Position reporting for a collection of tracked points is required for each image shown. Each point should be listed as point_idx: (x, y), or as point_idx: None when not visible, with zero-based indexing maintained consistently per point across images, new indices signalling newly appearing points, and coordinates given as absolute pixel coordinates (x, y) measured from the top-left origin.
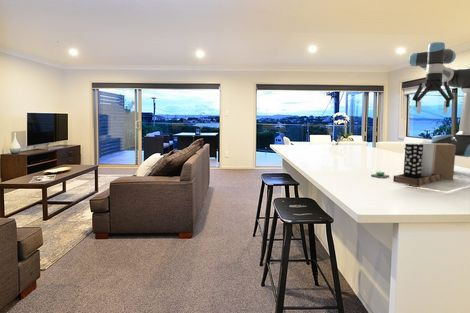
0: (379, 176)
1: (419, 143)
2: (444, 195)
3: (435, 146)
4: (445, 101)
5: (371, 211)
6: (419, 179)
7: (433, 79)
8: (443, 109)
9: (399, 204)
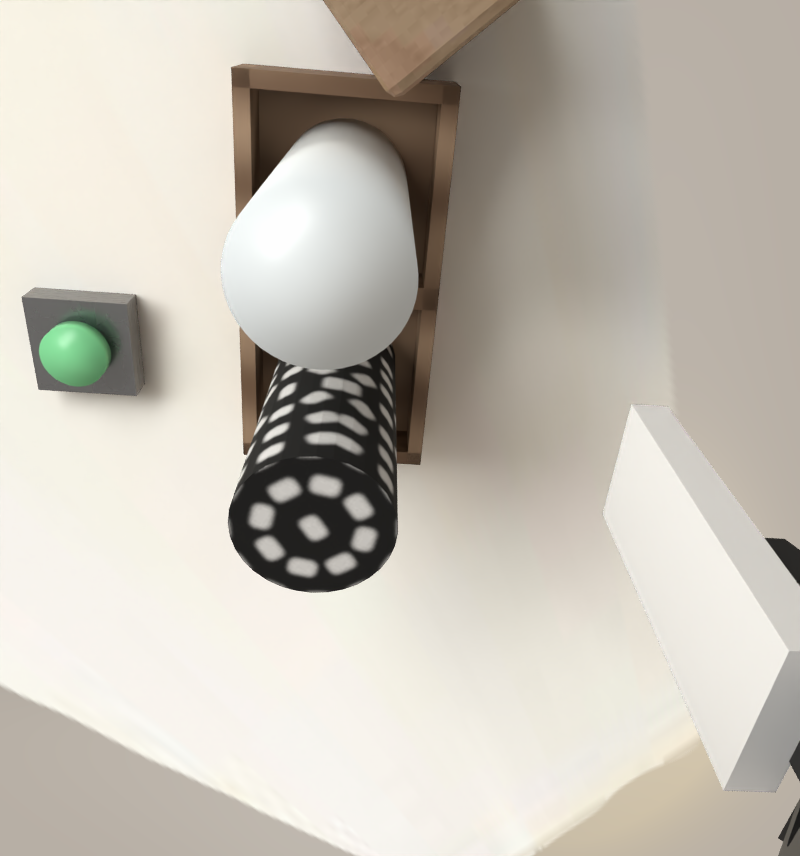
0: (112, 392)
1: (281, 358)
2: (589, 526)
3: (382, 86)
4: (759, 770)
5: None
6: (420, 454)
7: None
8: (631, 578)
9: (492, 768)
